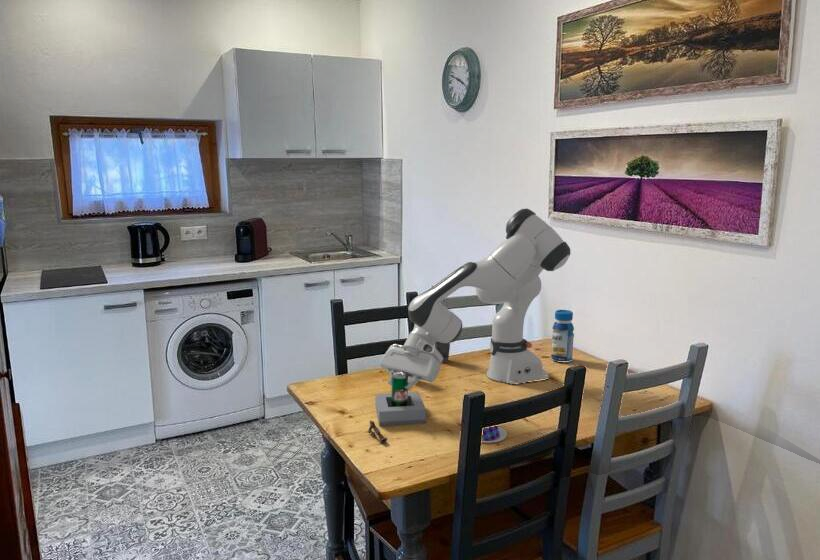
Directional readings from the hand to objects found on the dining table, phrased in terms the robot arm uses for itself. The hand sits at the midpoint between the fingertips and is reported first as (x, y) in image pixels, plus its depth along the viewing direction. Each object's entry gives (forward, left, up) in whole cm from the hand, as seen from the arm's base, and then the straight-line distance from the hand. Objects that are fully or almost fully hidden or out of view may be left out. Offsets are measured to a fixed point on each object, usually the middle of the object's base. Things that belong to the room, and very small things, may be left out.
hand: (398, 387), depth 185 cm
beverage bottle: (-70, -44, -10) cm, 83 cm away
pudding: (-23, +16, -10) cm, 30 cm away
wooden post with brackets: (+8, +15, -10) cm, 20 cm away
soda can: (0, 0, -8) cm, 8 cm away
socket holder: (0, -1, -9) cm, 9 cm away
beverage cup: (-23, -50, -10) cm, 56 cm away
